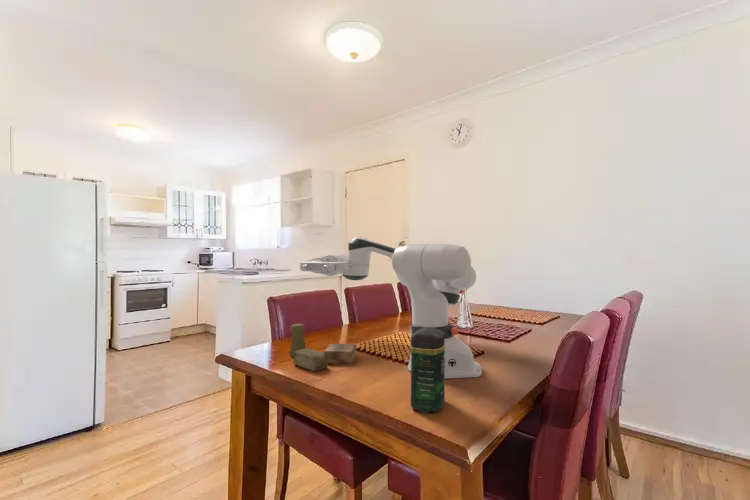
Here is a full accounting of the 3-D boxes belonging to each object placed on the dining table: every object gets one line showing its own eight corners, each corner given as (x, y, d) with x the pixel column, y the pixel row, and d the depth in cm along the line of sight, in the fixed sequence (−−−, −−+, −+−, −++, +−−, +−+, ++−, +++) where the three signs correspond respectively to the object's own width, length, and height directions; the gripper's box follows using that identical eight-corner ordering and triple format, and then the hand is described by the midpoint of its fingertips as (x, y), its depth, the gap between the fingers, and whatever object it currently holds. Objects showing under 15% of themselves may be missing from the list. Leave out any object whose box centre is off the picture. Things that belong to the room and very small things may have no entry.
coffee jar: (441, 416, 85) (440, 335, 84) (407, 411, 87) (406, 332, 87) (447, 399, 94) (447, 325, 93) (417, 395, 96) (416, 323, 96)
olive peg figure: (310, 354, 133) (309, 323, 133) (298, 358, 128) (297, 326, 128) (297, 351, 136) (297, 321, 136) (285, 355, 131) (285, 324, 131)
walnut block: (355, 355, 131) (355, 344, 131) (351, 363, 122) (351, 351, 122) (330, 354, 132) (330, 343, 132) (324, 363, 123) (324, 351, 123)
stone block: (315, 373, 114) (314, 357, 114) (292, 365, 122) (291, 350, 121) (329, 368, 118) (328, 352, 118) (306, 361, 126) (306, 346, 126)
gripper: (354, 273, 153) (339, 276, 140) (310, 272, 160) (292, 275, 147) (353, 257, 153) (339, 259, 140) (310, 257, 160) (292, 259, 147)
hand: (314, 267), depth 143 cm, fingers open, 8 cm apart
